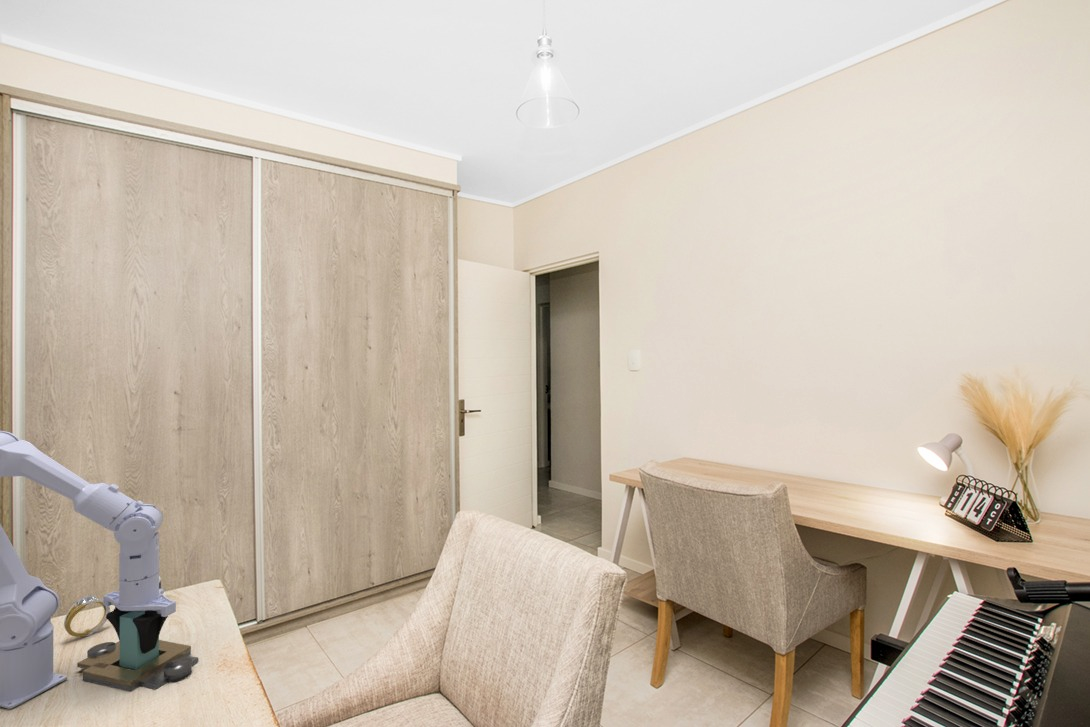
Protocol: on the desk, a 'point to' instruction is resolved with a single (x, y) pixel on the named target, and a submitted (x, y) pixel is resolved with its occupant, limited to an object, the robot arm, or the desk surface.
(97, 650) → the tan slotted board
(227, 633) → the desk surface
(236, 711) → the desk surface
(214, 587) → the desk surface
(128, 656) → the teal pin
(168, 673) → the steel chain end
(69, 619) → the ring
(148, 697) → the desk surface
